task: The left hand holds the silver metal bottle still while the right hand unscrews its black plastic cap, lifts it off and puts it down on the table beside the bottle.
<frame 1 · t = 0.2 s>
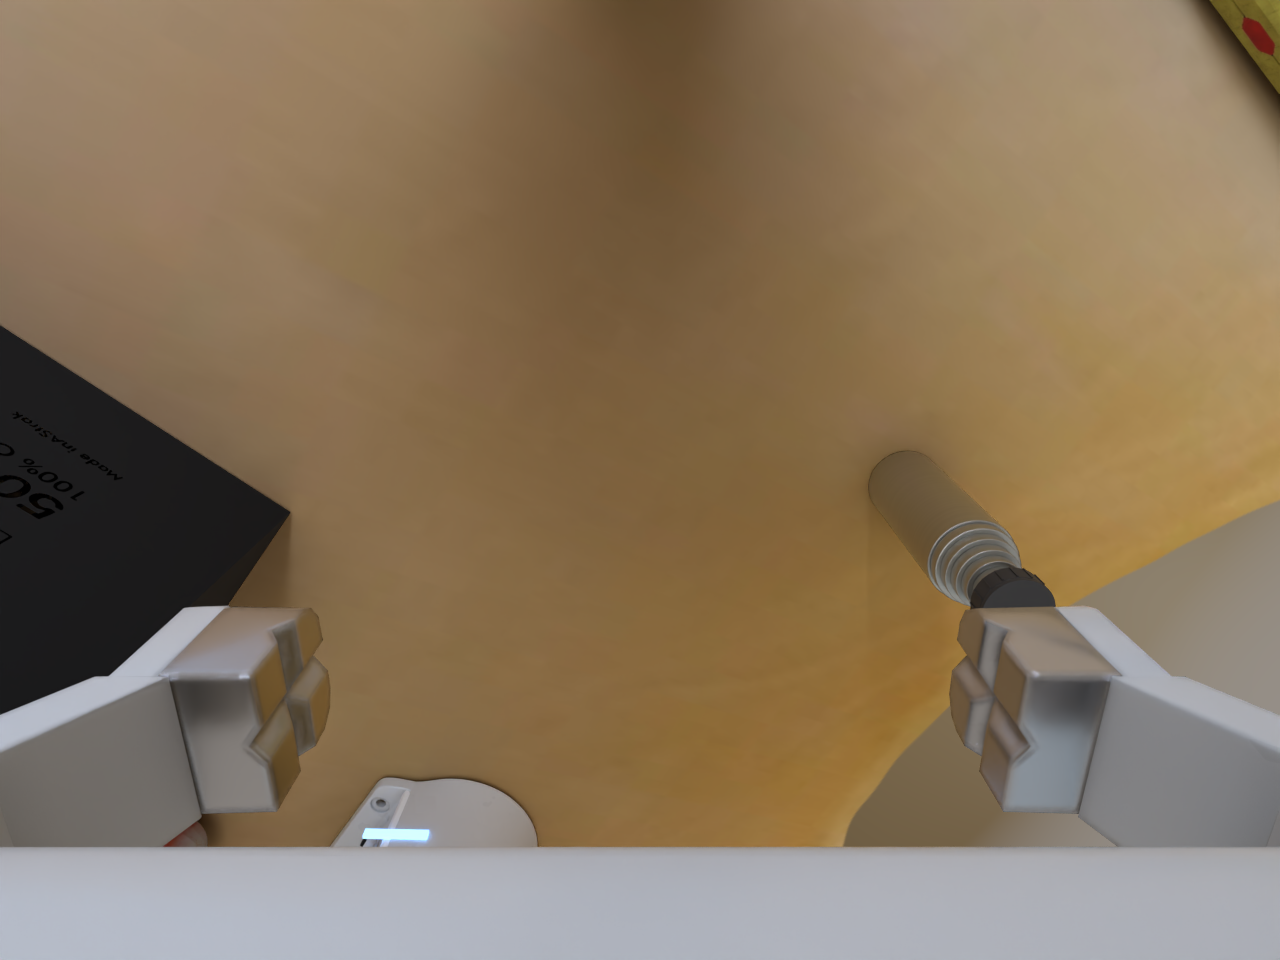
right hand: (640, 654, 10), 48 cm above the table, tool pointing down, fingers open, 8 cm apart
eyeball: (189, 825, 72), on the table
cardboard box: (5, 468, 60), on the table
bottle: (903, 484, 61), on the table
cap: (1015, 610, 42), point 19 cm above the table, screwed on, not yet turned
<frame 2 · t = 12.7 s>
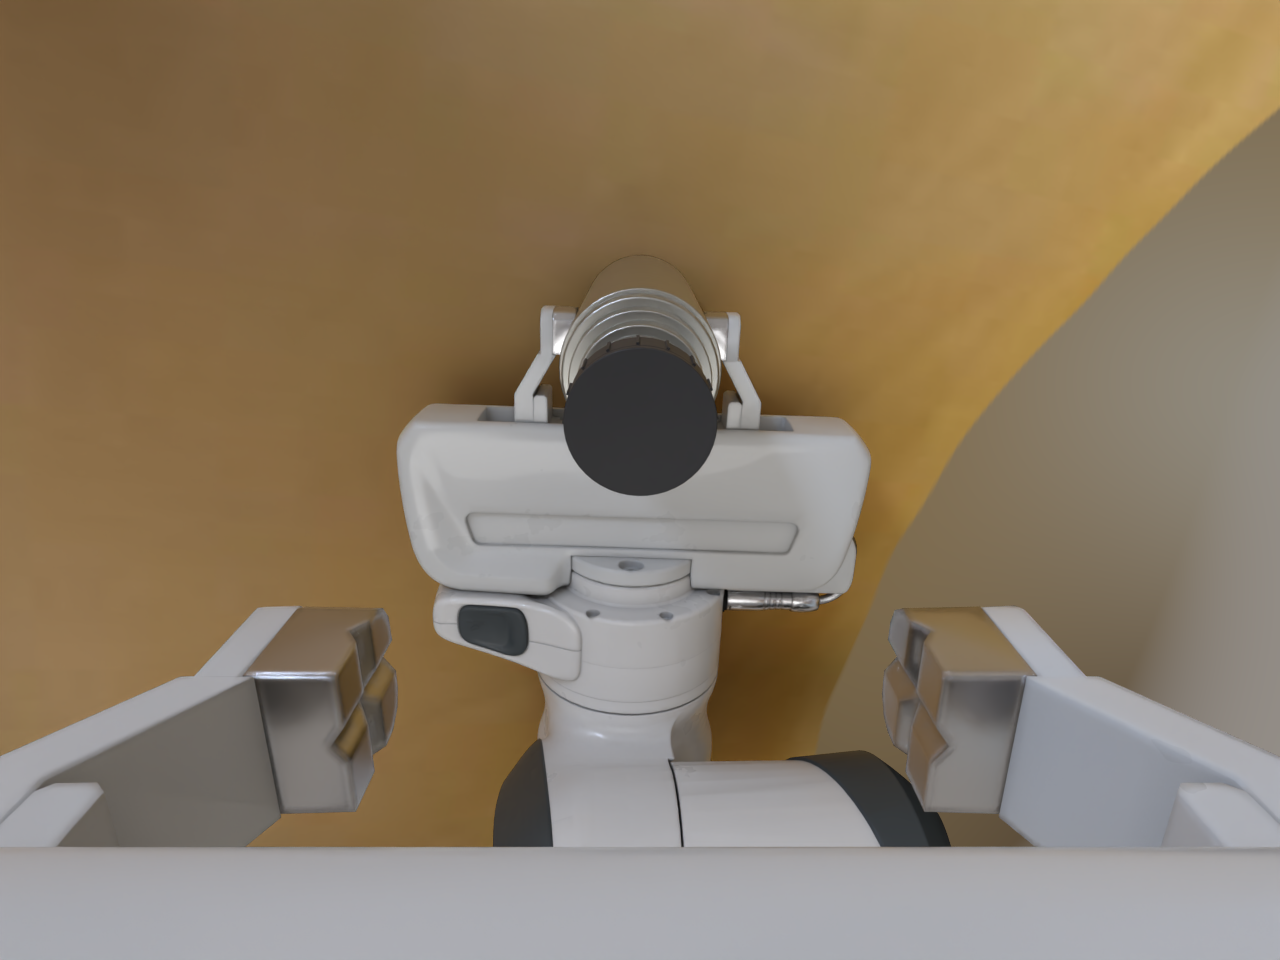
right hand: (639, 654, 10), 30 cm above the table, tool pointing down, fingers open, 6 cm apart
left hand: (639, 310, 33), fingers closed on bottle, 5 cm apart
bottle: (640, 312, 38), on the table, touching left hand
cap: (640, 421, 20), point 19 cm above the table, screwed on, not yet turned
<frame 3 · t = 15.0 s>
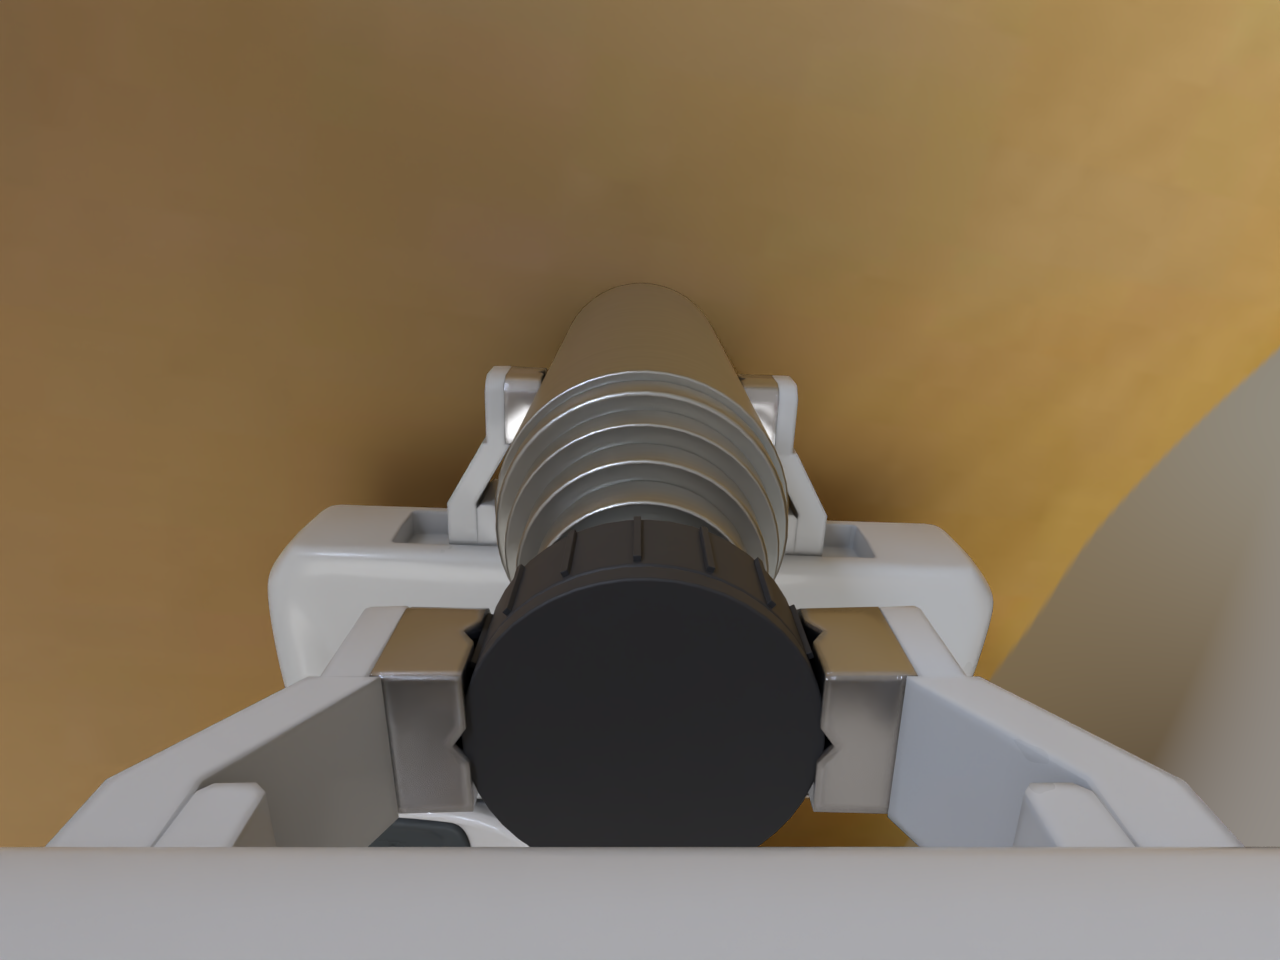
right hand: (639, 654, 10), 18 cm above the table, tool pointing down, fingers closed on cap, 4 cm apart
bottle: (640, 363, 27), on the table, touching left hand
cap: (643, 724, 9), point 19 cm above the table, screwed on, not yet turned, touching right hand
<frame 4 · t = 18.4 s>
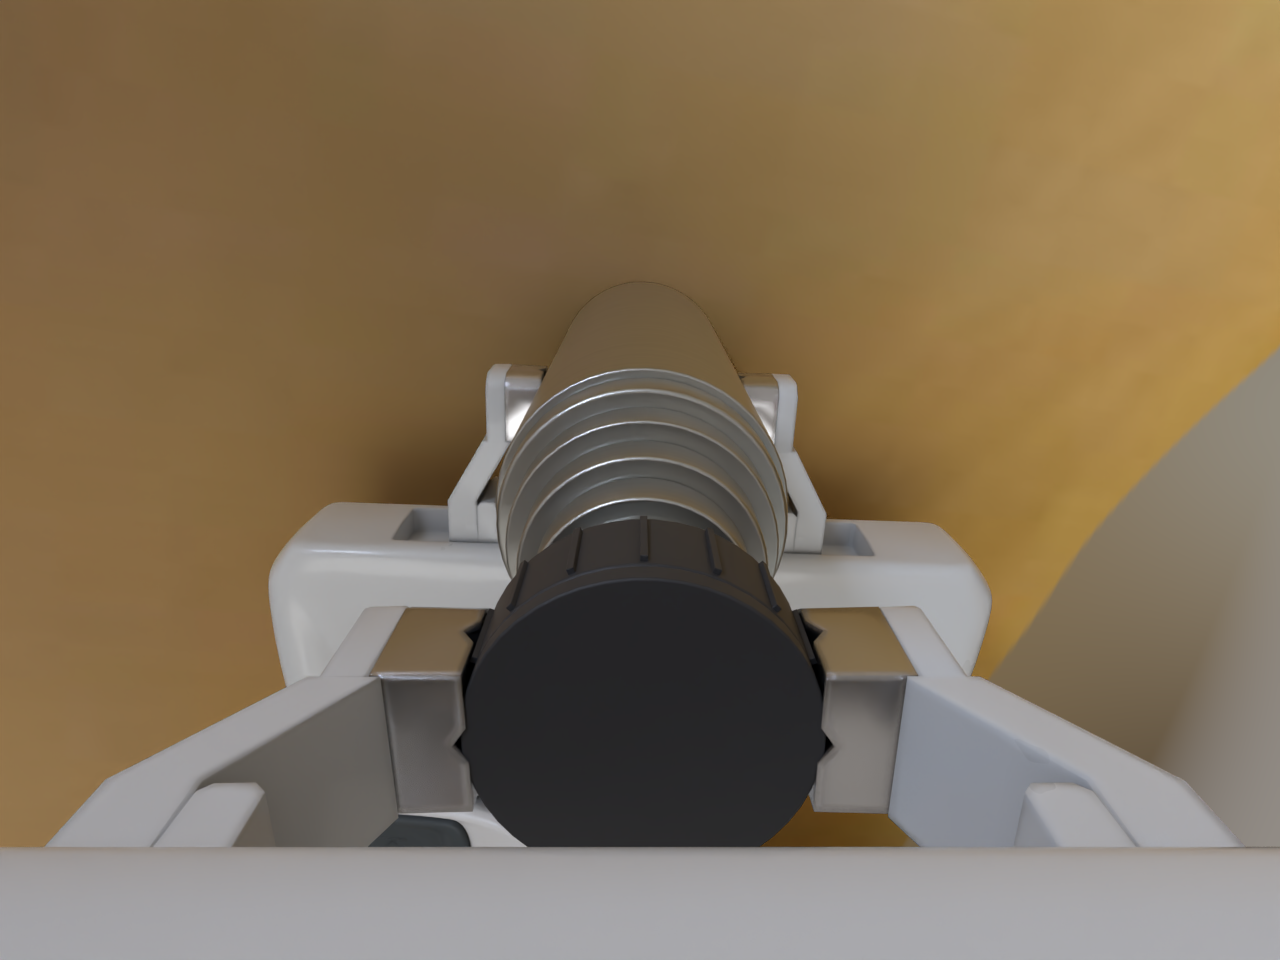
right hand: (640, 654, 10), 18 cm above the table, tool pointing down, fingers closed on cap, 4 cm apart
bottle: (641, 362, 27), on the table, touching left hand
cap: (643, 724, 9), point 19 cm above the table, turned 88° so far, risen 0.1 cm, still on its thread, touching right hand
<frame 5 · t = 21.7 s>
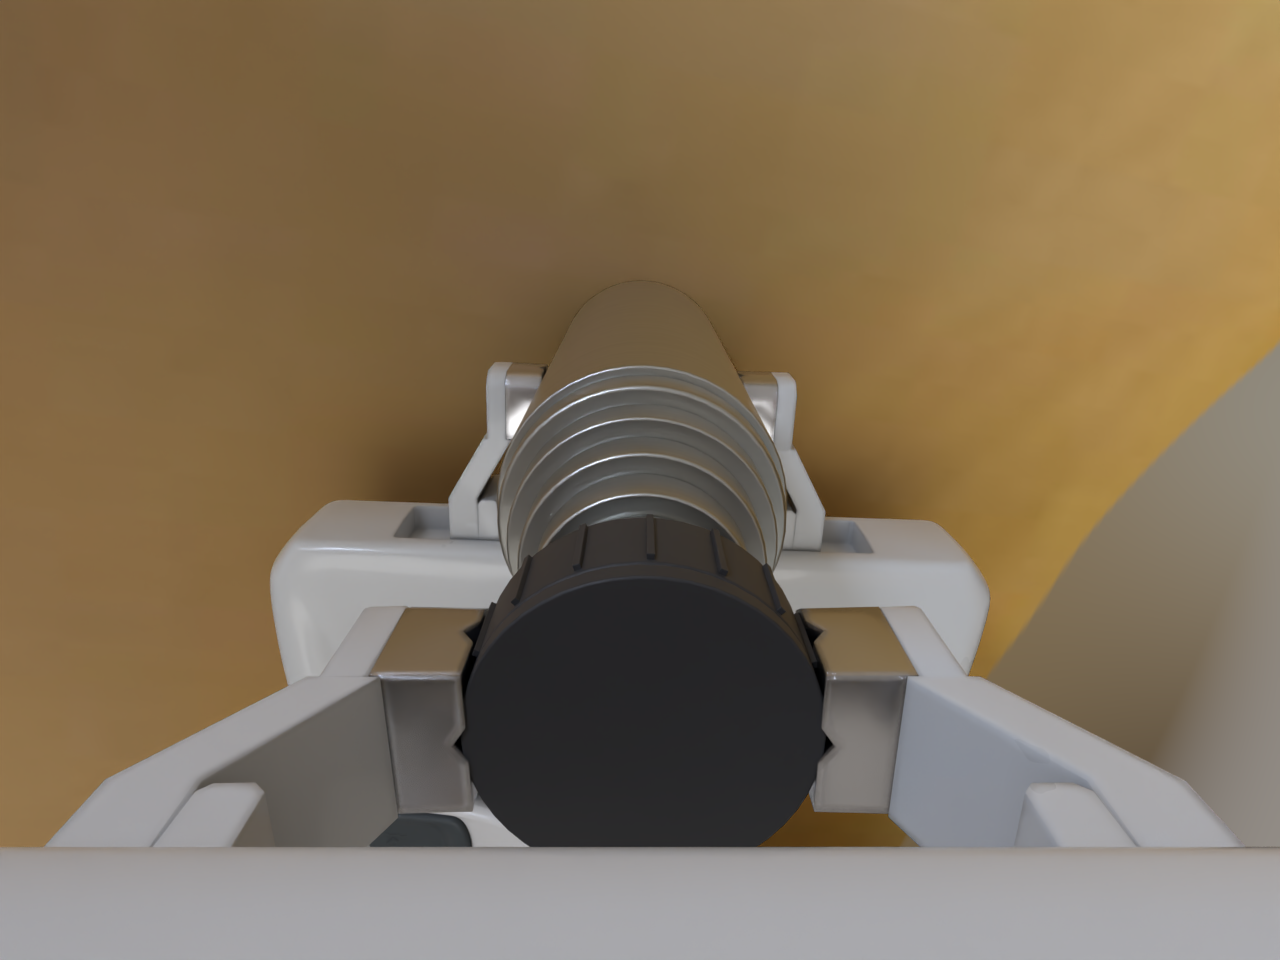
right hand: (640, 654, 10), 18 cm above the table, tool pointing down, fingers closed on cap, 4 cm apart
bottle: (640, 360, 27), on the table, touching left hand
cap: (643, 723, 9), point 20 cm above the table, turned 176° so far, risen 0.2 cm, still on its thread, touching right hand
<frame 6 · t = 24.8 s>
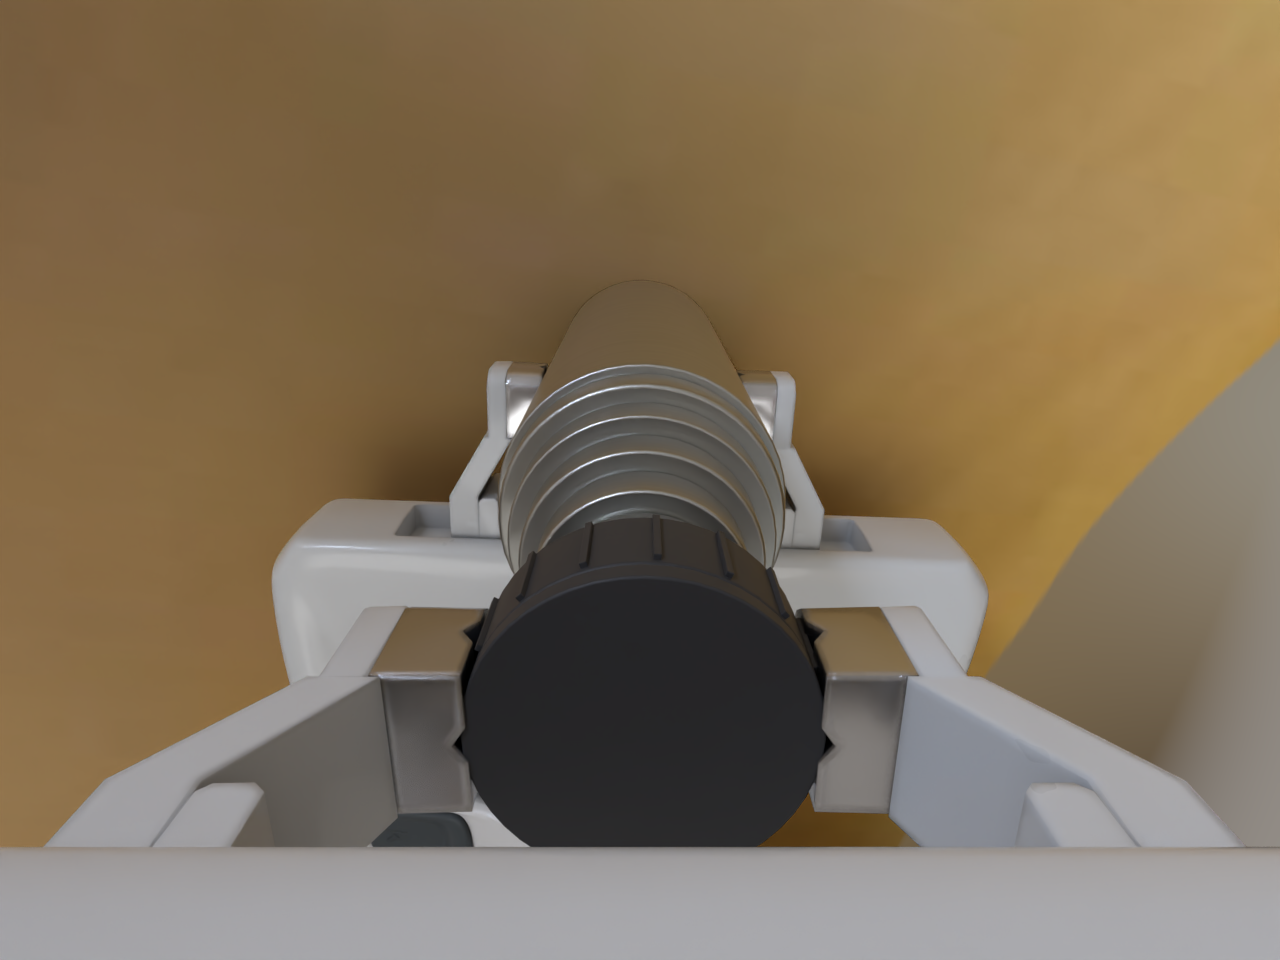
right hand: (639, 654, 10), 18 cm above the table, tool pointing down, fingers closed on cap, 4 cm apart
bottle: (640, 360, 27), on the table, touching left hand
cap: (643, 723, 9), point 20 cm above the table, turned 264° so far, risen 0.3 cm, still on its thread, touching right hand
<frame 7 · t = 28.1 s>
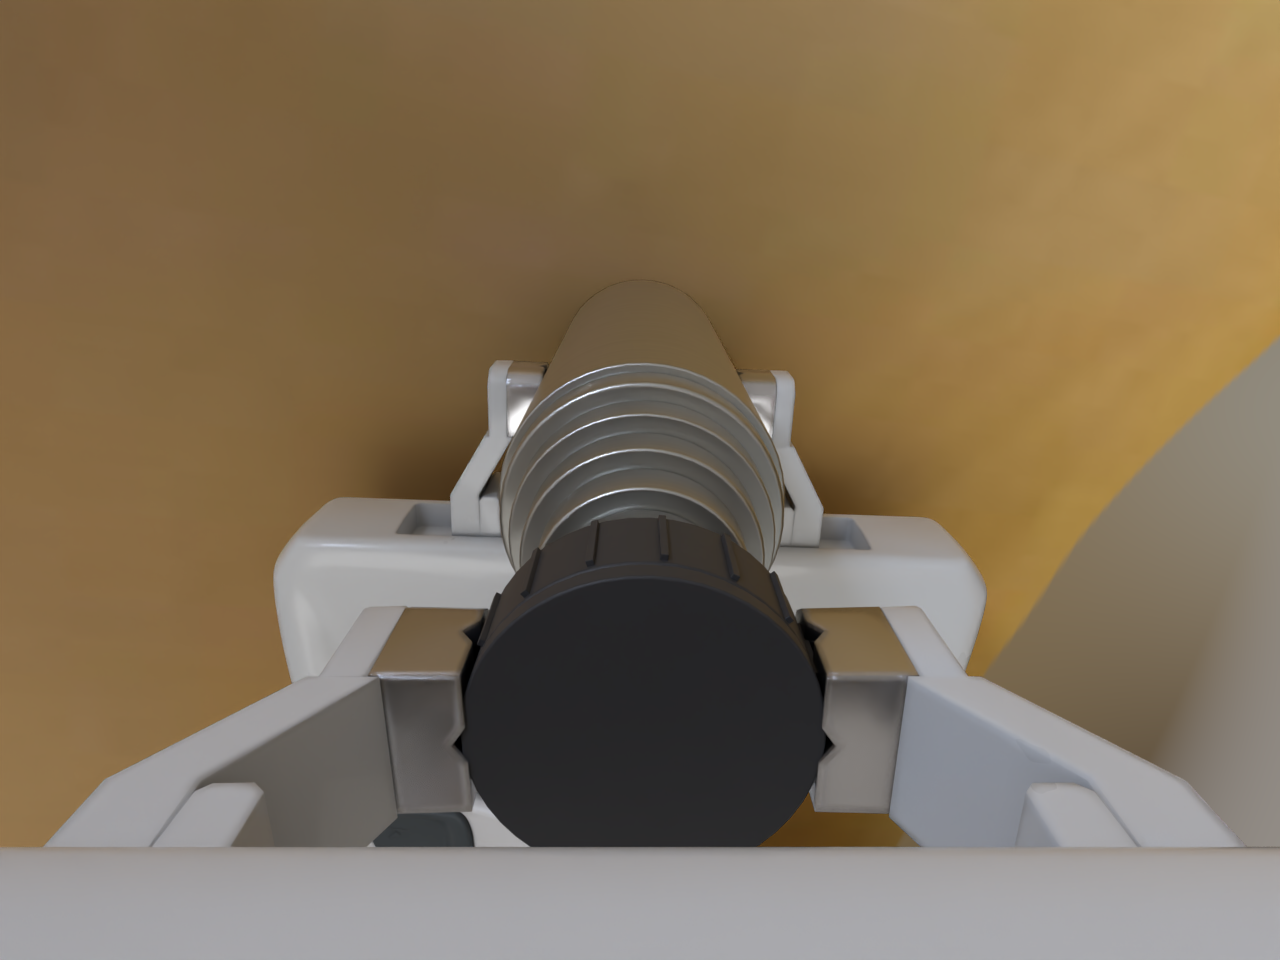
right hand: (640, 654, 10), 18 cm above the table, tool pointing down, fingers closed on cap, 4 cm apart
bottle: (640, 359, 27), on the table, touching left hand
cap: (643, 723, 9), point 20 cm above the table, turned 352° so far, risen 0.4 cm, still on its thread, touching right hand
when the right hand's fingers open (2 cm above the table, at t = 34.6 s): cap drops 2 cm, point 1 cm above the table.
when the left hand's fingers open (6 cm above the table, at t = 35.8 s): bottle stays where it is, on the table.
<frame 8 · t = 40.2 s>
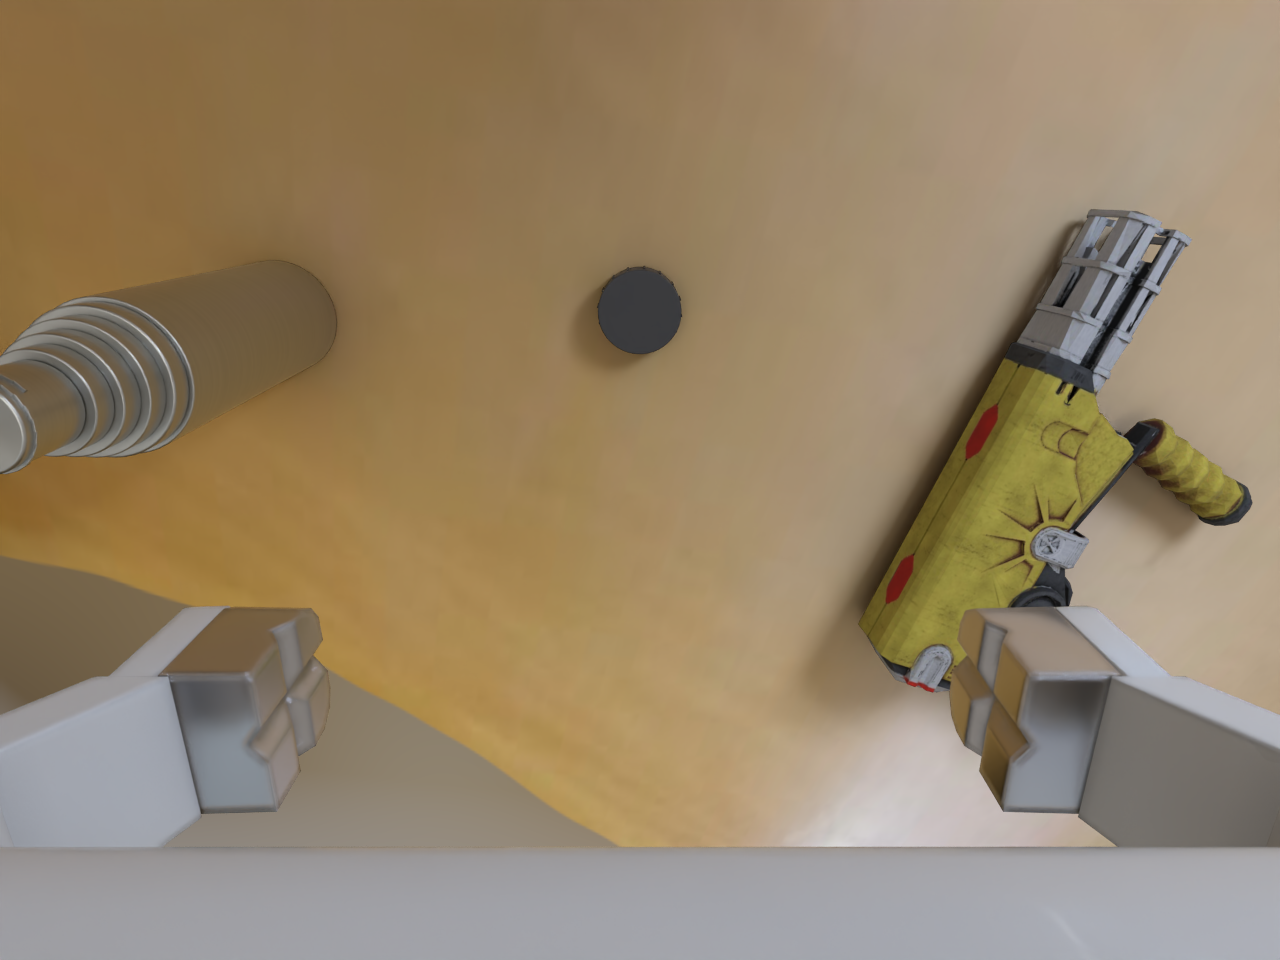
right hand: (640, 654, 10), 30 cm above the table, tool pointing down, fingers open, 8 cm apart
bottle: (281, 316, 39), on the table
cap: (639, 311, 38), point 1 cm above the table, off its thread
toy gun: (1070, 486, 42), on the table
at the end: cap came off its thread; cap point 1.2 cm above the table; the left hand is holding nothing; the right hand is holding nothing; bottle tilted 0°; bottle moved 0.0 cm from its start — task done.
